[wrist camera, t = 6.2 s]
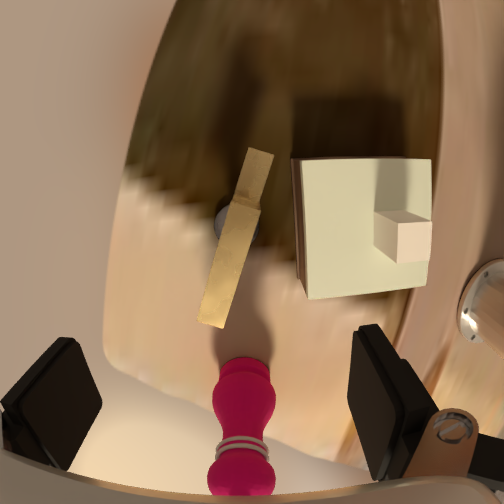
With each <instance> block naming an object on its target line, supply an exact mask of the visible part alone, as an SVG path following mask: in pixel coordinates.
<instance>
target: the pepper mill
mask: <svg viewBox="0 0 504 504" xmlns="http://www.w3.org/2000/svg"><path fill="white" fill-rule="evenodd" d="M275 403H276V394H275V391H274V388H273V386H272V385H271V384H270V373H269V370H268V369H267V367H266V366H265V365H264V364H263V363H261V362H260V361H258V360H256V359H253V358H247V357H242V358H236V359H233V360H230V361H229V362H227V363H226V364H225V365H224V366H223V367H222V369H221V371H220V376H219V382H218V383H217V384H216V386H215V388H214V390H213V397H212V404H213V408H214V412H215V414H216V416H217V418H218V420H219V422H220V424H221V426H222V429H223V439H222V441H221V442H220V443H219V444H218V445H217V447H216V455H215V460H216V461H215V462H214V463H213V464H212V465H211V466H210V468H209V471H208V475H207V483H208V487H209V490H210V491H211V493H212V495H222V496H257V495H271V494H272V492H273V490H274V487H275V480H276V477H275V473H274V469H273V468H272V466H271V465H270V464H269V463H268V462H269V456H268V454H269V450H268V447H267V446H266V444H265V443H264V442H263V431H264V428H265V426H266V424H267V423H268V421H269V420H270V418H271V416H272V414H273V411H274V408H275Z"/></svg>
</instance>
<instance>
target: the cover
mask: <svg viewBox="0 0 504 504" xmlns="http://www.w3.org/2000/svg"><path fill="white" fill-rule="evenodd" d="M300 174H301V189H302V205H303V224H304V246H305V273H306V296H307V298H308V300H312V299H321V298H331V297H340V296H349V295H358V294H366V293H374V292H382V291H390V290H398V289H405V288H412V287H419V286H426V281H427V271H428V261H429V260H430V252H431V236H432V221H431V160H428V159H326V160H303V161H300Z"/></svg>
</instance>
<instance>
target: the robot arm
mask: <svg viewBox="0 0 504 504" xmlns="http://www.w3.org/2000/svg"><path fill="white" fill-rule="evenodd" d="M457 322H458V328H459V331H460V332H461V334H462V336H464V337H465V338H466V339H467V340H468V341H469V342H472V343H482V342H486V343H487V344H488V345H489V346H490V347H491V348H492V349H493V350H494V351H495V352H496V353H497V354H498V355H499V356H500V357H501V358H502V359H503V360H504V260H503V259H497V260H493V261H490V262H488V263H487V264H485V265H484V266H482V267H481V268H480V269H479V270H478V271H477V272H476V273H475V275H474V276H473V277H472V278H471V280H470V281H469V283H468V285H467V286H466V288H465V290H464V292H463V294H462V297H461V300H460V303H459V308H458V314H457ZM347 400H348V405H349V408H350V411H351V414H352V417H353V420H354V423H355V426H356V429H357V432H358V435H359V439H360V442H361V445H362V448H363V451H364V454H365V458H366V461H367V464H368V467H369V471H370V474H371V477H372V479H373V480H374V481H376V480H378V481H379V482H376V483H370V484H364V485H357V486H351V487H344V488H338V489H331V490H323V491H314V492H304V493H292V494H280V495H257V496H222V495H199V494H186V493H175V492H166V491H158V490H151V489H144V488H138V487H132V486H126V485H121V484H116V483H111V482H106V481H102V480H97V479H93V478H89V477H85V476H82V475H77V474H74V473H71V472H67V470H68V469H69V467H70V466H71V464H72V461H73V460H74V458H75V456H76V454H77V452H78V450H79V448H80V446H81V445H82V443H83V441H84V439H85V437H86V435H87V433H88V431H89V430H90V428H91V426H92V424H93V422H94V420H95V418H96V417H97V415H98V413H99V411H100V409H101V407H102V398H101V396H100V394H99V391H98V389H97V387H96V384H95V382H94V380H93V377H92V375H91V373H90V370H89V367H88V365H87V362H86V360H85V357H84V355H83V352H82V349H81V346H80V344H79V343H78V342H76V340H75V339H74V338H68V337H59V338H58V339H57V340H56V341H55V342H54V343H53V344H52V345H51V346H50V347H49V348H48V349H47V350H46V351H45V352H44V353H43V354H42V355H41V356H40V358H39V359H38V360H37V361H36V362H35V363H34V364H33V365H32V366H31V367H30V368H29V369H28V371H27V372H26V373H25V374H24V375H23V376H22V377H21V378H20V379H19V381H17V383H16V384H15V385H14V386H13V387H12V388H11V389H10V391H9V392H8V393H7V394H6V395H5V396H4V397H3V398H2V400H1V401H0V403H1V404H2V406H3V408H4V409H5V411H4V412H3V413H2V411H1V410H0V504H504V440H503V439H499V438H495V437H491V436H488V435H484V434H480V433H479V426H478V423H477V420H476V419H475V418H474V417H473V416H472V415H471V414H470V413H468V412H467V411H464V410H461V409H455V408H449V409H443V410H441V411H439V409H438V407H437V406H436V404H435V403H434V401H433V399H432V398H431V396H430V395H429V393H428V392H427V390H426V388H425V387H424V385H423V384H422V382H421V381H420V379H419V378H418V376H417V374H416V373H415V371H414V370H413V368H412V367H411V365H410V364H409V362H408V361H407V360H406V359H400V357H399V355H398V354H397V352H396V351H395V349H394V348H393V346H392V345H391V343H390V342H389V340H388V339H387V337H386V336H385V334H384V333H383V331H382V330H381V328H380V327H379V325H378V324H370V325H363V326H360V327H359V329H358V331H354V332H353V340H352V353H351V364H350V374H349V383H348V392H347Z"/></svg>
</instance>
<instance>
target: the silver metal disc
mask: <svg viewBox="0 0 504 504" xmlns="http://www.w3.org/2000/svg"><path fill="white" fill-rule="evenodd" d="M229 206H230V204H229V205H227V206H225V207H224V208H222V209H221V210H220V212H219V213H218V215H217V217H216V219H215V223H214V229H215V233H216V236H217V238H218V239H219V240H220V236H221V233H222V229H223V226H224V223H225V219H226V216H227V213H228V209H229ZM258 231H259V221H258V222H257V225H256V228H255V231H254V234H253V237H252V241H251V243H252V242H253V241H254V240H255V238H256V236H257V234H258Z"/></svg>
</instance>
